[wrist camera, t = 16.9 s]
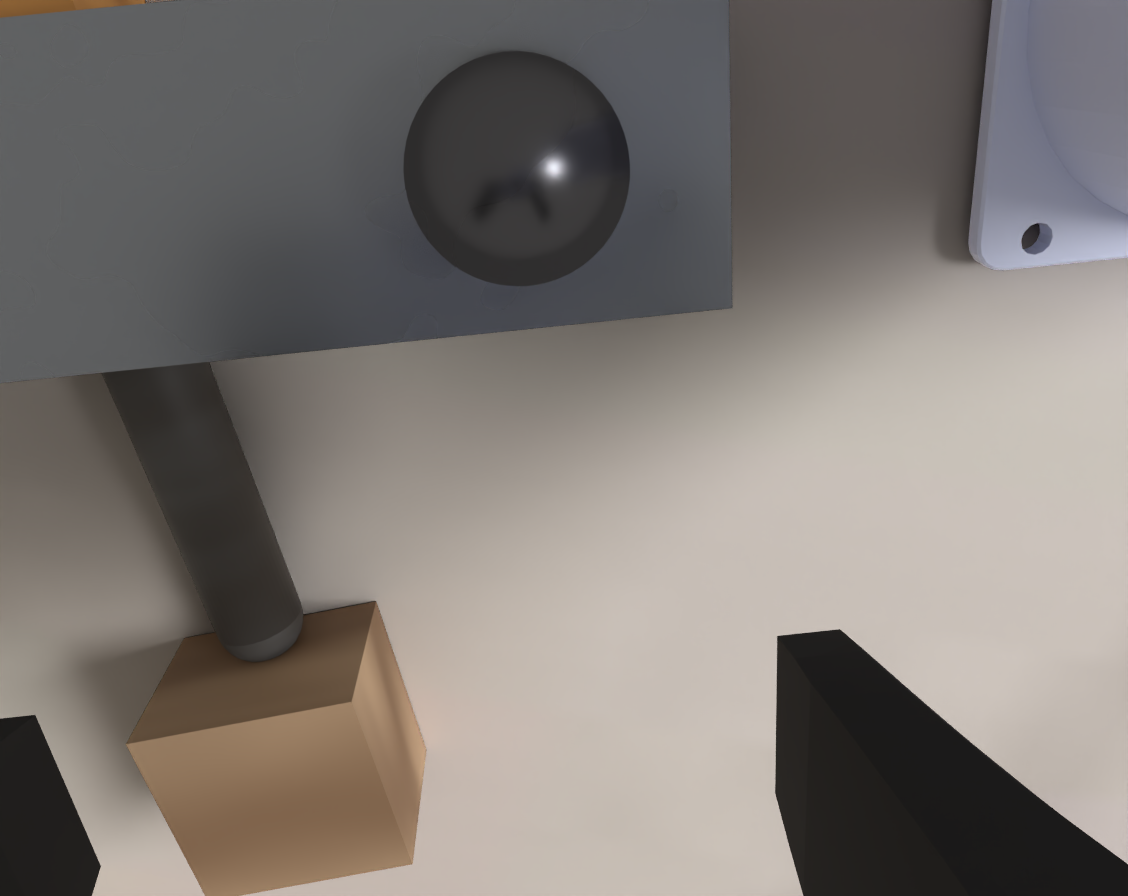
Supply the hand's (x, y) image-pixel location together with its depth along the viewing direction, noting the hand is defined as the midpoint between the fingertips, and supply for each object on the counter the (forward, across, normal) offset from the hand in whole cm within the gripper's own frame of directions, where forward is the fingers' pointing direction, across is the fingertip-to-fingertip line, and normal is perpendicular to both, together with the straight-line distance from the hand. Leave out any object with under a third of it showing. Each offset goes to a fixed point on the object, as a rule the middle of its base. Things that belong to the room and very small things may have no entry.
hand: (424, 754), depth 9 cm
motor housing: (+8, +4, -5) cm, 11 cm away
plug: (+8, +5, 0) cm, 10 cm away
